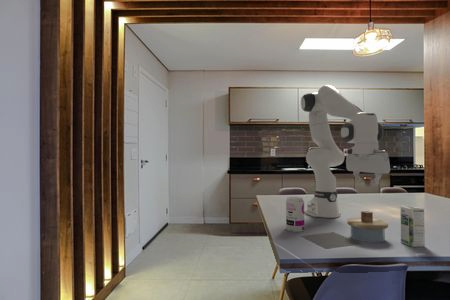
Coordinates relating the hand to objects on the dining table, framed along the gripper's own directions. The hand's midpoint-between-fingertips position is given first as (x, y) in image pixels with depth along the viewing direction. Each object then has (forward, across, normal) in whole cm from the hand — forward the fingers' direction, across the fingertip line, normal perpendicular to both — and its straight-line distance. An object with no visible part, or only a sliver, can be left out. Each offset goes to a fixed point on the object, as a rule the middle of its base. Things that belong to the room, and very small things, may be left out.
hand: (366, 183), depth 114 cm
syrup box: (+23, -12, -10) cm, 28 cm away
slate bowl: (+23, -1, +1) cm, 23 cm away
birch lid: (+17, -1, +1) cm, 17 cm away
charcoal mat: (+23, +2, +17) cm, 29 cm away
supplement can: (+24, +20, +22) cm, 38 cm away
